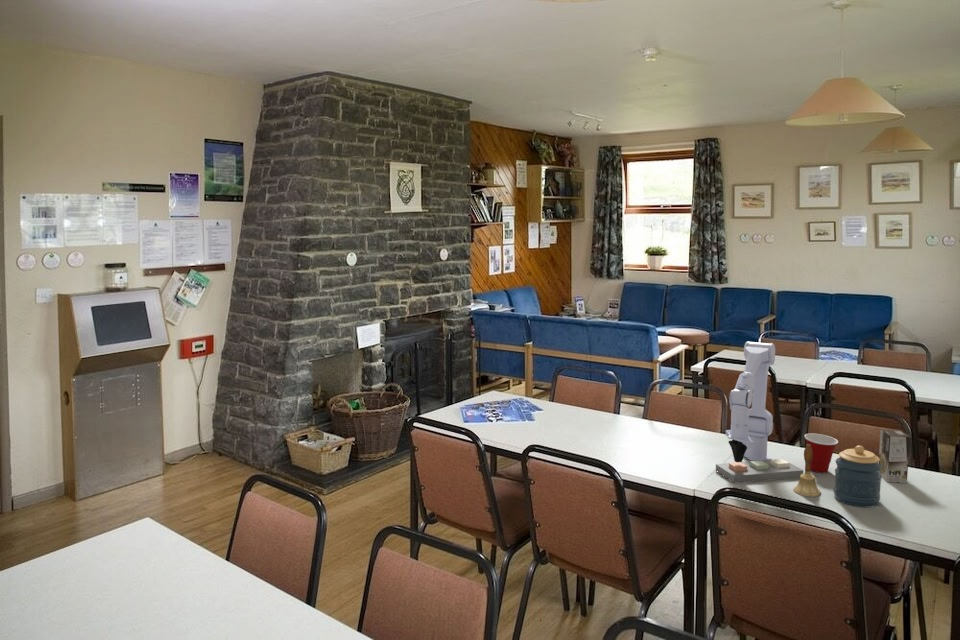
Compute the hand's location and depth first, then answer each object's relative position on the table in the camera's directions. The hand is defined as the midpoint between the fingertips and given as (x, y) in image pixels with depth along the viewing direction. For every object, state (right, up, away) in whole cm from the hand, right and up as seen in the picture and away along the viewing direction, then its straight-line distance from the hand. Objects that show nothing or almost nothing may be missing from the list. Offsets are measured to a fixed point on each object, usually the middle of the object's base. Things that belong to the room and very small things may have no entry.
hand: (738, 461), depth 240 cm
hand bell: (+17, -7, -14) cm, 23 cm away
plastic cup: (+31, -4, +5) cm, 32 cm away
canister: (+29, -8, -21) cm, 37 cm away
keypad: (+8, -5, +2) cm, 10 cm away
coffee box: (+52, -5, -3) cm, 52 cm away
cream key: (+16, -3, +3) cm, 16 cm away
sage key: (+8, -3, +2) cm, 9 cm away
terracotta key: (0, -3, 0) cm, 3 cm away
